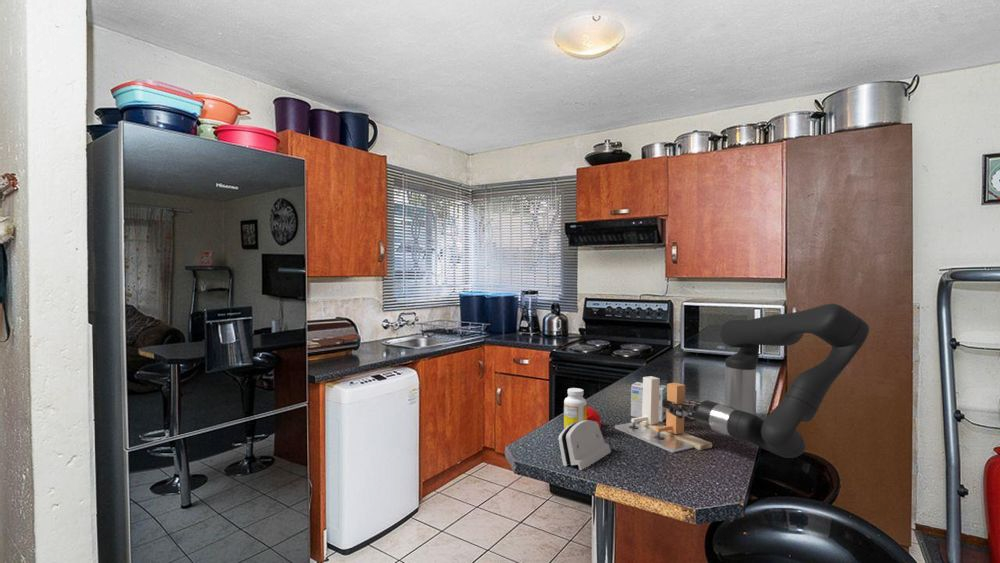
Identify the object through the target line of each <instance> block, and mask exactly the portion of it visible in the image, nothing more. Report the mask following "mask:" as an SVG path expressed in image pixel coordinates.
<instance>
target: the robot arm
mask: <svg viewBox="0 0 1000 563" xmlns="http://www.w3.org/2000/svg"><path fill="white" fill-rule="evenodd" d="M869 332H870V326H869V325H868V323H867V322H866V321H865V320H863V319H862V318H861V317H859V316H858V315H856V314H855V313H853V312H852V311H851V310H848V309H847V308H846V307H844V306H842V305H840V304H837V303H828V304H821V305H819V306H815V307H811V308H806V309H804V310H800V311H795V312H788V313H778V314H773V315H772V314H770V315H766V316H761V317H756V318H752V319H749V320H748V319H747V320H745V319H743V320H742V319H730V320H727V321H725V322H724V323H723V324H722V325H721V327H720V329H719V336H720V339H721V341H722V343H723V344H724V345H726V346H727V347H730V348H739V351H737V352H736V353H734V354H733V355H730V356H728V357H726V358H725V368H724V369H725V371H724V373H725V374H724V376H725V377H724V404H723V403H719V402H718V403H717V402H715V401H712V400H703V401H698V400H697V401H696V400H693V399H691V400H689V401H688V400H687V399H685V403H683V402H682V403H675V402H672V401H668V400H662V406H663V407H664V408H668V409H669V413H671V414H673V415H675V416H676V417H678V418H682V416H684V417H687V418H689V419H691V420H696V422H697V424H698V426H699V427H701V428H703V429H706V430H708V431H712V432H715V433H718V434H721V435H722V436H723V435H724V436H728V437H732V438H735V439H738V440H741V441H744V442H748V443H751V444H753V445H755V446H757V447H759V448H760V449H763V450H765V451H767V452H769V453H771V454H775V455H776V456H779V457H782V458H786V459H791V458H792V459H795V458H797V457H799V456H801V455H803V453H804V452H805V451H806V450H805V449H806V441H805V439H804V437H803V435H802V434H801V433H800V432H799V431H798V430H797V429H798V428H797V427H798V426H799V425H800V424H801V422H805V423H806V422H810V421H812V420H813V418H814V417H815V416H816V414H817V413H818V410H819V408H820V406H821V405H822V403H823V401H824V398H825V396H826V395H827V393H828V392H829V390H830V388H831V386H832V385H833V383H834V382H835V381H836V379H837V378H838V377H839V376H840V374H841V373H842V372H844V370H845V369H846V367H847V366H848V365H849V363H850V362H851V361H852V360H853V358H854V357H855V356H856V354H857V353H858V351H860V349H861V348H862V346H863V344H864V343H865V342H866V340H867V339H868V335H869ZM804 334H811V335H814V336H816V337H818V338H819V339H820V340H823V341H824V342H825V343H826V344H828V345H829V346H831V349H830V352H829V354H828V356H827V357H826V358H825V359H824V360H822V362H819V363H818V364H817V365H814V366H812V367H811V368H808V369H806V370H804V371H802V372H801V373H799V374H798V375H797V376H796V377H795V378H794V379H793V380H792V381H791V384H790V385H789V387H788V389H787V391H786V393H785V394H784V396H783V399H782V401H781V402H780V403H779V404H777V405H776V407H775V408H774V409H773V410H772V411H771V412H770V413H769V414H768V415H767V416H766V418H764V420H763V419H762V418H760V417H759V416H758V415H757V390H756V386H757V384H756V383H757V381H756V380H757V365H758V361H759V355H760V346H767V347H770V346H771V347H772V346H773V347H786V346H792V345H795V344H797V343H799V342H800V341H801V340H802V338H803V336H804ZM678 406H679V407H678ZM683 406H684V411H683Z"/></svg>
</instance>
